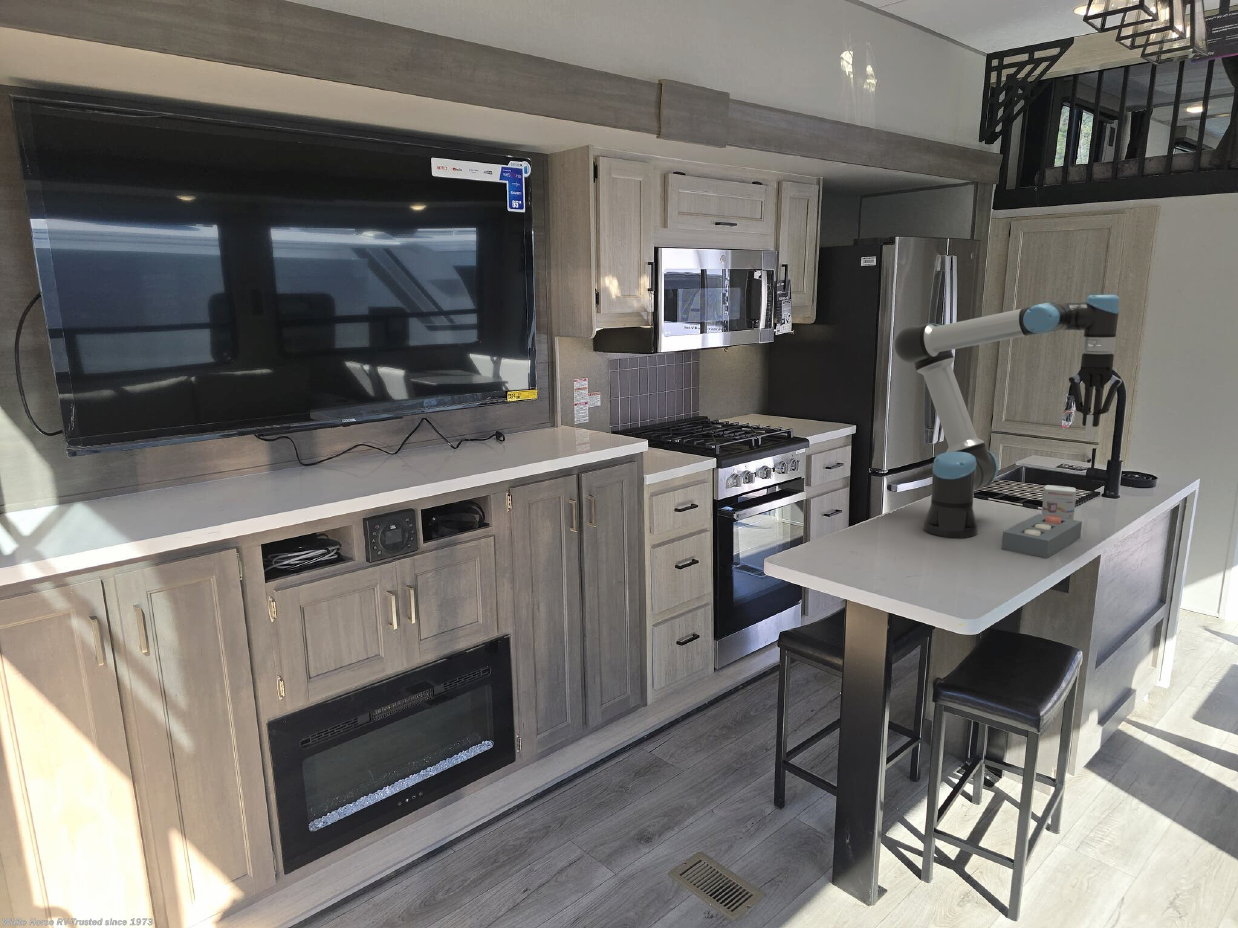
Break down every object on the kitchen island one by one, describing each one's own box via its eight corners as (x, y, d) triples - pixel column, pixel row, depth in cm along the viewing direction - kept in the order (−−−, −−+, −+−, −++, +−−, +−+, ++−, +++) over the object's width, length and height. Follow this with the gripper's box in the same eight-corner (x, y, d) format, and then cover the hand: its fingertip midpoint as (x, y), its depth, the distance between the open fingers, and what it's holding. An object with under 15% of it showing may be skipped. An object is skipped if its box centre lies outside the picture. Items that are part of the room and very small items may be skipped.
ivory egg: (1035, 551, 217) (1037, 534, 216) (1020, 547, 220) (1022, 531, 219) (1041, 547, 219) (1043, 531, 218) (1026, 544, 222) (1027, 528, 221)
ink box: (1040, 525, 241) (1044, 488, 239) (1040, 521, 246) (1044, 484, 243) (1072, 528, 237) (1076, 490, 235) (1072, 524, 242) (1076, 487, 239)
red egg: (1056, 536, 226) (1058, 520, 225) (1041, 533, 229) (1043, 517, 228) (1061, 533, 229) (1063, 517, 228) (1047, 530, 232) (1048, 514, 231)
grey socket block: (1046, 558, 212) (1048, 540, 211) (1001, 548, 221) (1002, 531, 220) (1080, 537, 228) (1081, 521, 227) (1036, 529, 237) (1038, 513, 236)
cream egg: (1046, 544, 222) (1047, 528, 221) (1031, 541, 225) (1032, 525, 224) (1051, 541, 224) (1053, 525, 223) (1037, 538, 227) (1038, 522, 226)
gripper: (1066, 352, 216) (1058, 437, 221) (1120, 354, 206) (1111, 442, 211) (1076, 350, 221) (1068, 433, 226) (1129, 352, 211) (1120, 438, 216)
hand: (1089, 437), depth 218 cm, fingers closed
